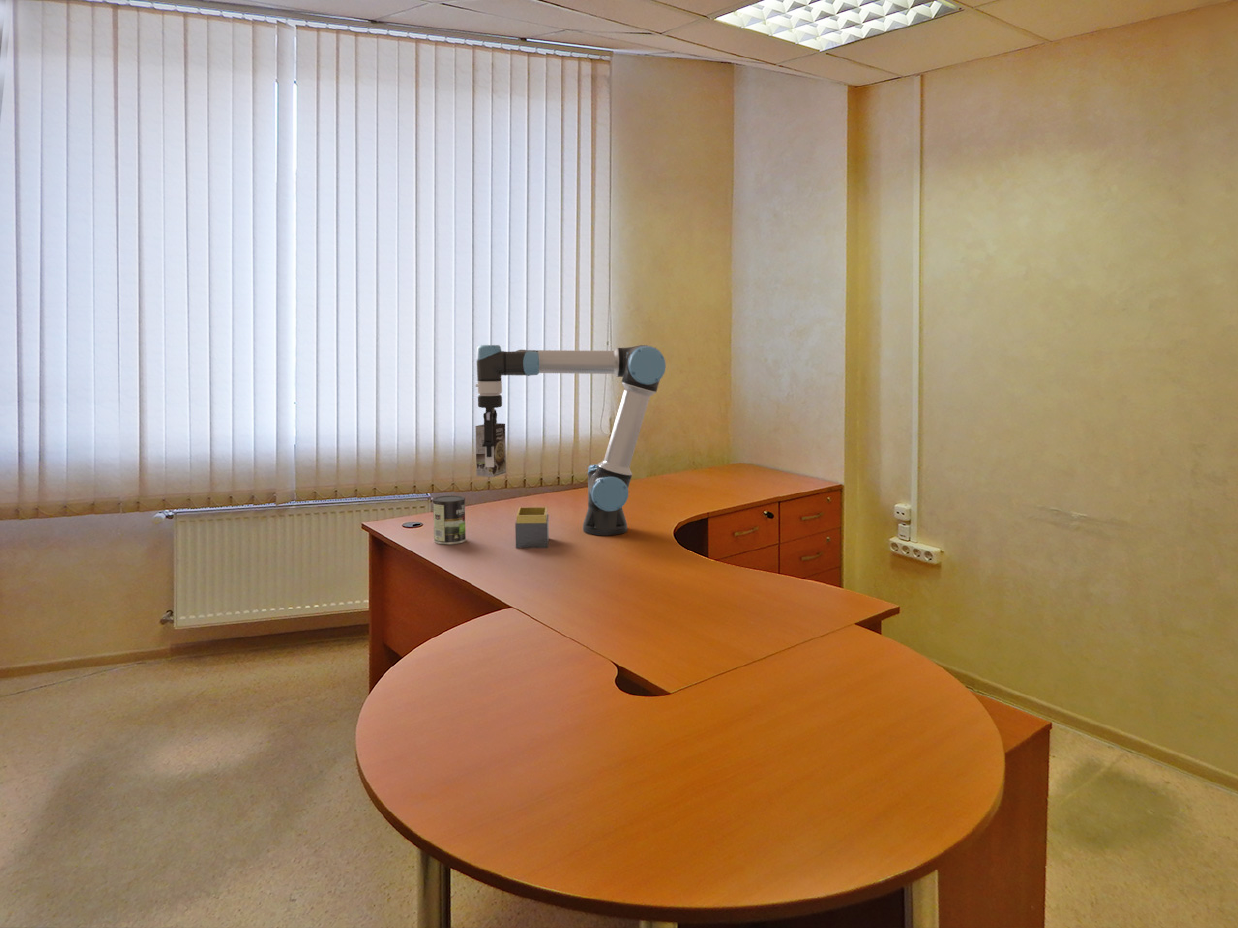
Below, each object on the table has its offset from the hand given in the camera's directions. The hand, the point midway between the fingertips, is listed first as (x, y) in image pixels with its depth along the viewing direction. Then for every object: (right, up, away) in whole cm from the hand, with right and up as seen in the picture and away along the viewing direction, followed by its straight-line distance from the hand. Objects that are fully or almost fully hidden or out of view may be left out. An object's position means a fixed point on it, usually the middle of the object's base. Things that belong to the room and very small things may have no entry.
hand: (491, 464), depth 269 cm
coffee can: (-14, -25, +6) cm, 30 cm away
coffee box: (0, -4, +1) cm, 4 cm away
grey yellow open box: (+13, -25, +4) cm, 29 cm away
